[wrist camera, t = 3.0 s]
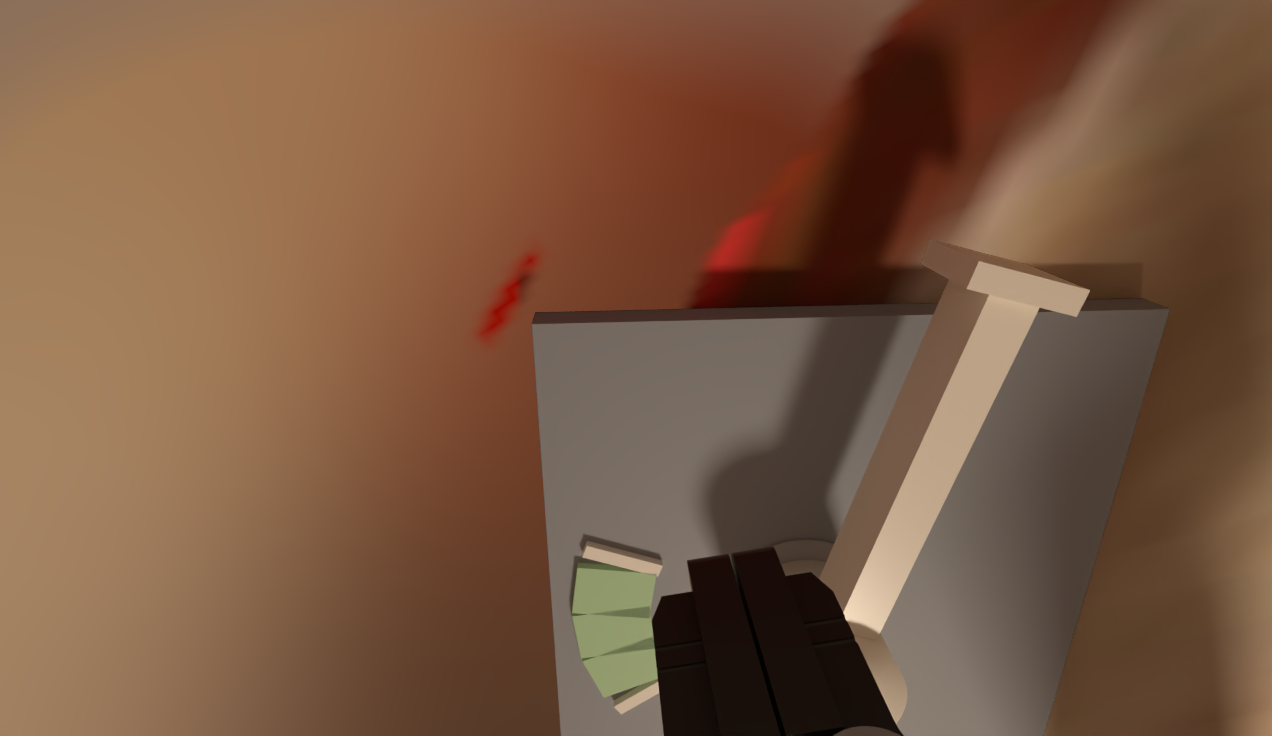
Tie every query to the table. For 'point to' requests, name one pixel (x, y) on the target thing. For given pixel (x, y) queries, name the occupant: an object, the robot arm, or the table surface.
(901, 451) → the lever with orange pointer
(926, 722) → the gauge board
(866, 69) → the table surface
